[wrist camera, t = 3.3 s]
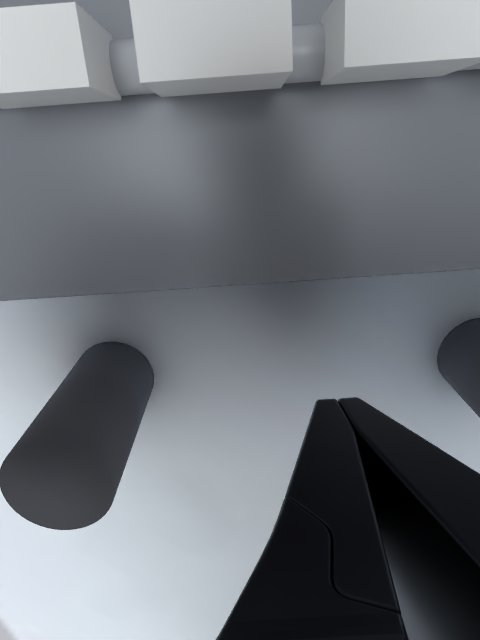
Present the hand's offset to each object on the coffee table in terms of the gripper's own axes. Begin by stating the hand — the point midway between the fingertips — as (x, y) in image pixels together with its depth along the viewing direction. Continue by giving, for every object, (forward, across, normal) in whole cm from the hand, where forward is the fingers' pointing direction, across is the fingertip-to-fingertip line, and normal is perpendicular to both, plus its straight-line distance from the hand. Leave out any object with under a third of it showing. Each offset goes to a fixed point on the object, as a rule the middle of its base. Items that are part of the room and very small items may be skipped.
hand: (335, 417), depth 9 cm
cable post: (+8, +7, +3) cm, 11 cm away
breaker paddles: (+5, 0, -7) cm, 9 cm away
